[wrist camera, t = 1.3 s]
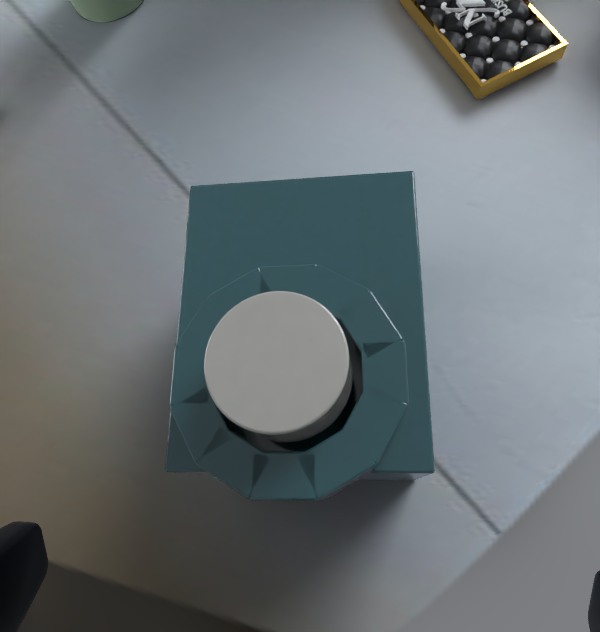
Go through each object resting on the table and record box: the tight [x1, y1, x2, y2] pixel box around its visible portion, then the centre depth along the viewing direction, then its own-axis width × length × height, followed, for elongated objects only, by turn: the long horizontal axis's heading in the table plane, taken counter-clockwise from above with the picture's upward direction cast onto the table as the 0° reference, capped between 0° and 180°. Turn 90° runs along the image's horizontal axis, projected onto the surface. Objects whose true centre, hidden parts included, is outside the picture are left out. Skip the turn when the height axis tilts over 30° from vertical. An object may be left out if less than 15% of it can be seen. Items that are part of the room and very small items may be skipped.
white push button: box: [204, 291, 353, 443], centre depth 14 cm, size 4×4×2 cm
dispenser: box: [165, 171, 435, 501], centre depth 19 cm, size 11×8×9 cm
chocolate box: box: [398, 0, 568, 100], centre depth 28 cm, size 9×1×5 cm
